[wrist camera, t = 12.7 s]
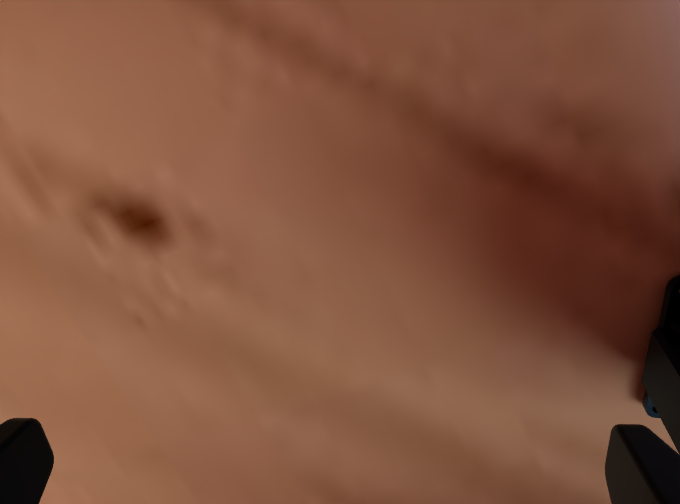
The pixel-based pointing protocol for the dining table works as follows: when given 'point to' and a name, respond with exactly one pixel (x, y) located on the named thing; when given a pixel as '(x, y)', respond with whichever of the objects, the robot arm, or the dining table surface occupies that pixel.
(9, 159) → the dining table surface
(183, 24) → the dining table surface
